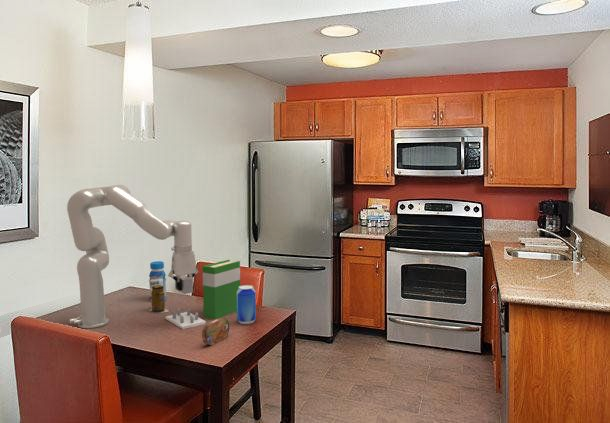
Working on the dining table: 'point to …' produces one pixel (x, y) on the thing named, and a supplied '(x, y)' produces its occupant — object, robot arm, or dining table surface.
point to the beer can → (246, 304)
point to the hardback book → (220, 288)
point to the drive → (186, 284)
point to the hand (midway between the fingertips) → (184, 288)
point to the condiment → (158, 300)
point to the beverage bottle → (157, 276)
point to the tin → (215, 331)
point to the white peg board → (185, 319)
